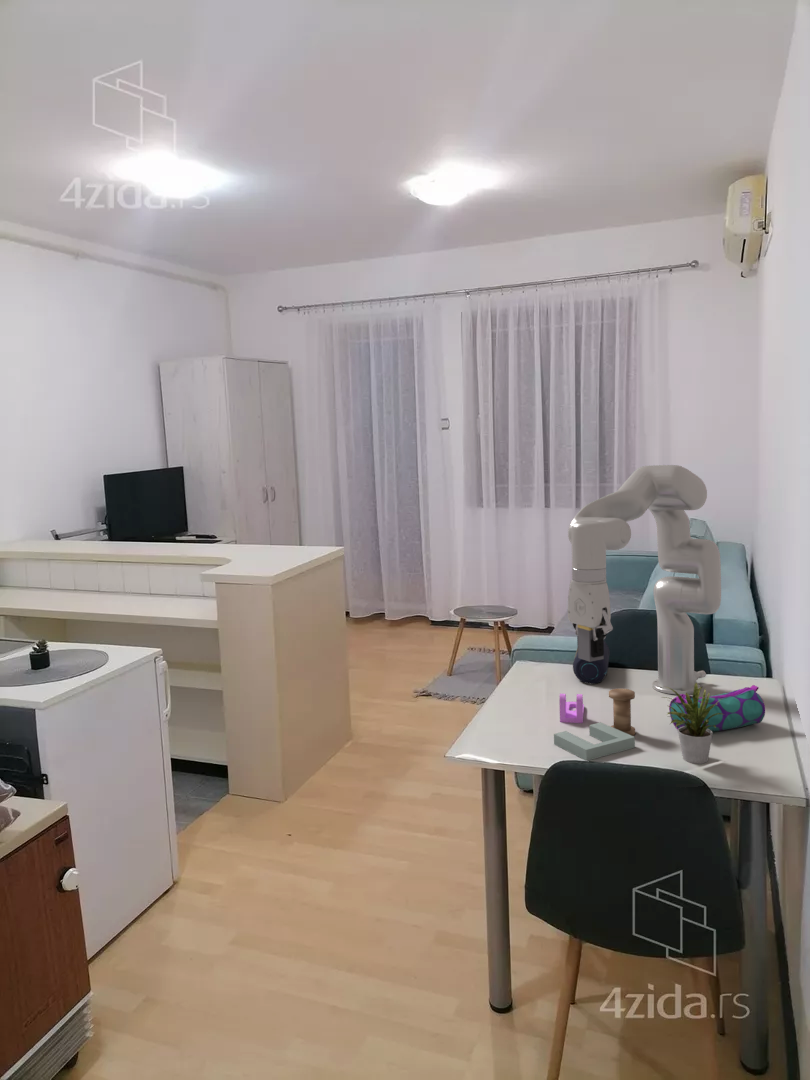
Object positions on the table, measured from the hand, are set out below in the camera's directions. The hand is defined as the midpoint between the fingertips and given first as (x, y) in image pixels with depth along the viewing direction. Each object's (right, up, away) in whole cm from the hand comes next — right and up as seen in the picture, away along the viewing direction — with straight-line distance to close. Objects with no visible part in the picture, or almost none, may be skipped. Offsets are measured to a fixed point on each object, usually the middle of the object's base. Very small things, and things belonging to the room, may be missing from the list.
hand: (590, 653), depth 175 cm
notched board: (+1, -21, +2) cm, 22 cm away
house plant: (+20, -22, -7) cm, 31 cm away
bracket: (+1, -20, +23) cm, 30 cm away
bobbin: (+10, -20, +8) cm, 24 cm away
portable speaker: (+14, -15, +56) cm, 60 cm away
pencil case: (+33, -20, +9) cm, 39 cm away
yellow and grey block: (0, -1, 0) cm, 1 cm away
